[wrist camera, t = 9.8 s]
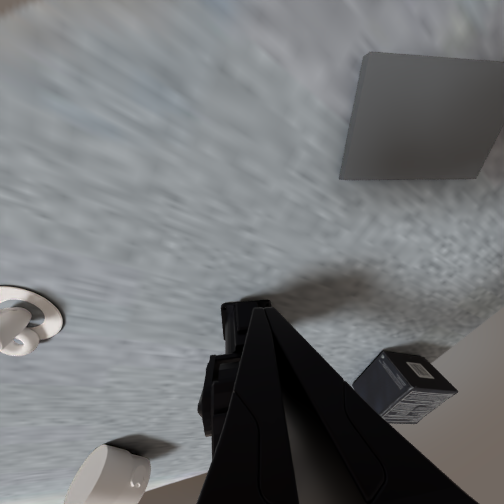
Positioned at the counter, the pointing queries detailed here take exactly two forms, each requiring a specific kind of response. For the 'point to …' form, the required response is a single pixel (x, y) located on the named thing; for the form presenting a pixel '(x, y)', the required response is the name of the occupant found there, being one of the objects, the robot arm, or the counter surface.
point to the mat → (423, 117)
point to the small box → (403, 387)
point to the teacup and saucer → (25, 322)
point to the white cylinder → (110, 478)
